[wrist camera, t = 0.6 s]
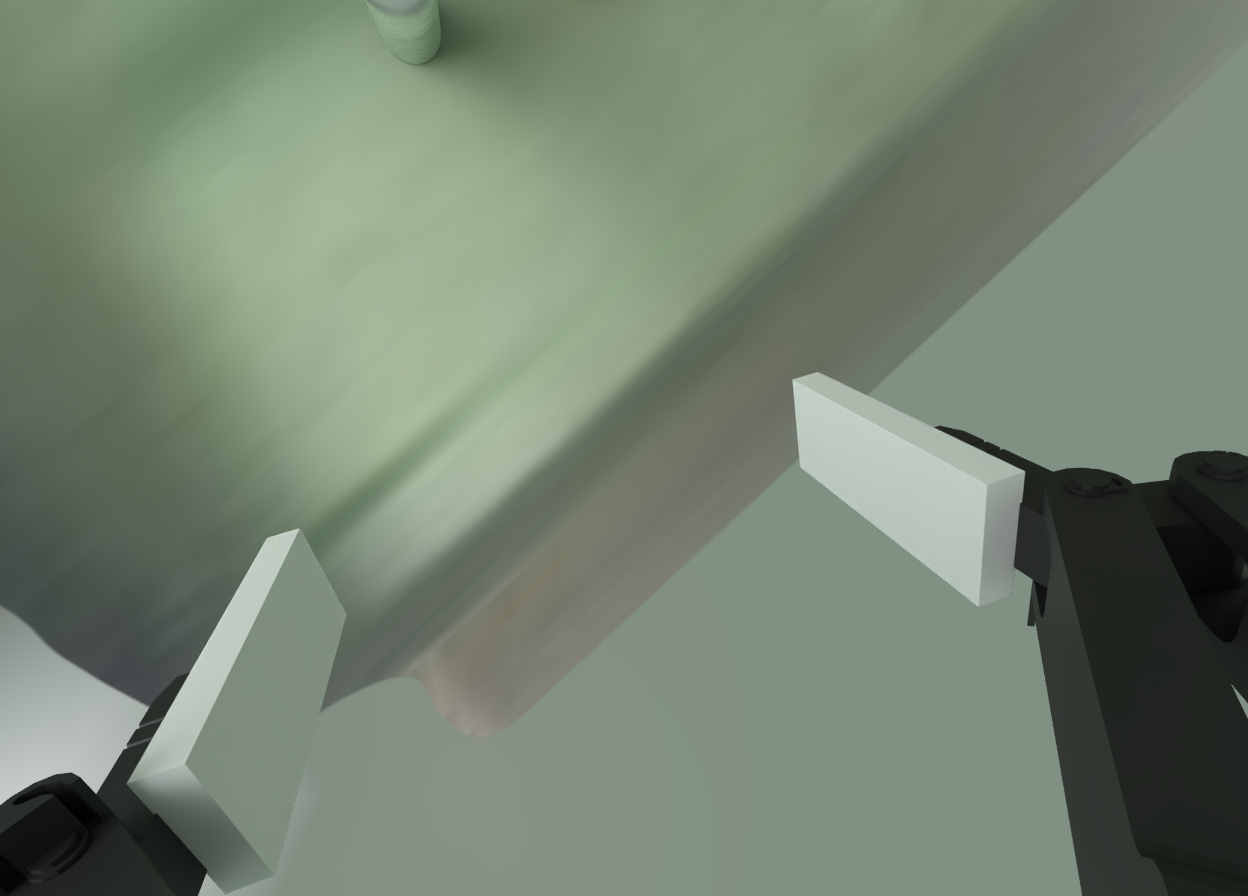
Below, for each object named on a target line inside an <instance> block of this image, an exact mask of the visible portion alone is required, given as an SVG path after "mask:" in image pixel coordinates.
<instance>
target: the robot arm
mask: <svg viewBox="0 0 1248 896" xmlns="http://www.w3.org/2000/svg"><path fill="white" fill-rule="evenodd" d="M793 391H794V402H795V413H796V425H797V436H798V448H799V459H800V467H801V468H802V469H804V470H805V471H806V472H807V473H809V474H810V475H811V476H812V477H814V478H815V479H816V480H818V481H819V482H820V483H822V484H823V485H824V486H825V487H826V488H828V489H829V490H830V491H831V492H833V493H834V494H836V495H837V496H838V497H839V498H840V499H842V500H843V501H844V502H846V503H847V504H848V505H849V506H851V507H852V508H853V509H854V510H856V511H857V512H858V513H860V514H861V515H862V516H863V517H865V518H866V519H867V520H869V521H870V522H871V523H872V524H874V525H875V526H876V527H877V528H879V529H880V530H881V531H883V532H884V533H885V534H886V535H888V536H889V537H890V538H891V539H893V540H894V541H895V542H897V543H898V544H899V545H900V546H902V547H903V548H904V549H906V550H907V551H908V552H909V553H911V554H912V555H913V556H914V557H916V558H917V559H918V560H919V561H921V562H922V563H923V564H925V565H926V566H927V567H928V568H930V569H931V570H932V571H934V572H935V573H936V574H937V575H939V576H940V577H941V578H942V579H944V580H945V581H946V582H948V583H949V584H950V585H951V586H953V587H954V588H955V589H956V590H958V591H959V592H960V593H962V594H963V595H964V596H965V597H967V598H968V599H969V600H971V601H972V602H973V603H974V604H976V605H977V606H978V607H980V606H982V605H985V604H988V603H990V602H993V601H996V600H998V599H1001V598H1003V597H1006V596H1009V595H1011V594H1013V585H1014V576H1015V568H1016V569H1018V570H1019V571H1021V572H1022V573H1024V574H1025V575H1027V576H1028V577H1030V578H1031V579H1033V582H1032V590H1031V598H1030V607H1029V615H1028V624H1027V625H1028V626H1034V625H1035V622H1036V628H1037V633H1038V640H1039V645H1040V651H1041V656H1042V663H1043V669H1044V675H1045V681H1046V686H1047V692H1048V698H1049V703H1050V710H1051V716H1052V721H1053V727H1054V733H1055V739H1056V745H1057V750H1058V756H1059V762H1060V768H1061V774H1062V780H1063V785H1064V791H1065V798H1066V803H1067V809H1068V815H1069V821H1070V826H1071V833H1072V838H1073V844H1074V850H1075V856H1076V861H1077V867H1078V874H1079V879H1080V885H1081V891H1082V896H1248V718H1247V716H1246V714H1245V712H1244V710H1243V708H1242V706H1241V704H1240V702H1239V700H1238V698H1237V696H1236V694H1235V691H1234V689H1233V687H1232V685H1233V686H1234V687H1235V689H1236V690H1237V691H1238V692H1239V693H1240V694H1241V696H1242V697H1243V698H1244V699H1245V700H1246V702H1247V703H1248V457H1247V456H1244V455H1241V454H1239V453H1234V452H1228V453H1227V452H1226V451H1198V452H1192V453H1186V454H1183V455H1181V456H1179V457H1177V458H1175V460H1174V462H1173V465H1172V469H1171V473H1170V478H1169V480H1164V481H1157V482H1147V483H1139V484H1132V483H1131V482H1130V480H1127V479H1125V478H1123V477H1121V476H1119V475H1117V474H1115V473H1111V472H1107V471H1103V470H1099V469H1090V468H1069V469H1068V468H1066V469H1063V470H1059V471H1055V472H1053V471H1050V470H1048V469H1046V468H1044V467H1042V466H1039V465H1037V464H1035V463H1033V462H1031V461H1028V460H1026V459H1024V458H1022V457H1020V456H1018V455H1015V454H1013V453H1011V452H1009V451H1007V450H1004V449H1002V450H1000V447H998V446H996V445H994V444H991V443H989V442H984V440H982V439H980V438H978V437H976V436H974V435H972V434H970V433H967V432H965V431H962V430H956V429H952V428H948V427H943V426H937V427H934V428H933V427H931V426H929V425H927V424H925V423H923V422H921V421H919V420H917V419H914V418H912V417H911V416H908V415H906V414H904V413H902V412H900V411H898V410H896V409H894V408H892V407H890V406H888V405H885V404H883V403H881V402H879V401H877V400H875V399H873V398H871V397H869V396H867V395H865V394H863V393H861V392H858V391H856V390H854V389H852V388H850V387H848V386H846V385H844V384H842V383H840V382H838V381H836V380H833V379H831V378H829V377H827V376H825V375H823V374H821V373H819V372H816V373H813V374H809V375H806V376H803V377H799V378H796V379H793ZM345 618H346V613H345V611H344V609H343V607H342V605H341V604H340V602H339V600H338V598H337V596H336V594H335V592H334V591H333V589H332V587H331V585H330V583H329V581H328V579H327V578H326V576H325V574H324V572H323V570H322V568H321V566H320V564H319V563H318V561H317V559H316V557H315V555H314V553H313V551H312V550H311V548H310V546H309V544H308V542H307V540H306V538H305V537H304V535H303V533H302V531H301V529H300V528H299V529H295V530H292V531H289V532H285V533H282V534H279V535H275V536H272V537H269V538H267V539H266V541H265V543H264V544H263V546H262V548H261V550H260V551H259V553H258V555H257V557H256V558H255V560H254V562H253V564H252V565H251V567H250V569H249V571H248V572H247V574H246V576H245V578H244V579H243V581H242V583H241V585H240V586H239V588H238V590H237V592H236V593H235V595H234V597H233V599H232V600H231V602H230V604H229V606H228V607H227V609H226V611H225V613H224V614H223V616H222V618H221V620H220V621H219V623H218V625H217V627H216V628H215V630H214V632H213V634H212V635H211V637H210V639H209V641H208V642H207V644H206V646H205V648H204V649H203V651H202V653H201V655H200V656H199V658H198V660H197V662H196V663H195V665H194V667H193V669H192V670H191V672H190V673H187V674H184V675H181V676H178V677H177V678H176V679H175V680H174V681H173V682H172V683H171V684H170V685H169V686H168V687H167V688H166V689H165V690H164V691H163V692H162V693H161V694H160V695H159V696H158V697H157V698H156V699H155V700H154V701H153V703H152V704H151V706H150V707H149V709H148V711H147V712H146V714H145V716H144V717H143V719H142V721H141V722H140V724H139V726H140V728H139V729H136V730H135V732H134V734H133V735H132V737H131V738H130V740H129V742H128V743H127V749H124V750H123V751H122V753H121V755H120V756H119V758H118V760H117V761H116V763H115V765H114V766H113V768H112V770H111V771H110V773H109V774H108V776H107V778H106V779H105V781H104V782H103V784H102V786H101V787H100V789H99V791H98V792H97V794H95V792H94V791H92V789H91V788H90V787H89V786H88V785H87V784H86V783H85V782H84V781H83V780H82V779H81V778H80V777H79V776H77V775H75V774H73V773H64V774H56V775H53V776H51V777H48V778H46V779H43V780H41V781H38V782H36V783H34V784H32V785H30V786H29V787H27V788H25V789H24V790H22V791H20V792H19V793H17V794H15V795H14V796H12V797H10V798H9V799H8V800H6V801H5V802H4V803H3V804H1V805H0V896H198V894H199V891H200V889H201V886H202V883H203V881H204V878H205V875H206V873H207V874H208V875H209V877H210V878H211V879H212V880H213V881H214V882H215V883H216V884H217V886H219V888H220V889H221V890H222V891H223V892H224V893H225V894H227V893H230V892H232V891H235V890H238V889H240V888H243V887H246V886H248V885H251V884H253V883H256V882H259V881H261V880H264V879H266V878H269V877H272V876H274V875H275V874H276V870H277V866H278V863H279V859H280V855H281V852H282V848H283V844H284V841H285V837H286V833H287V830H288V826H289V823H290V818H291V815H292V812H293V808H294V804H295V801H296V797H297V793H298V790H299V786H300V782H301V779H302V775H303V772H304V768H305V764H306V761H307V757H308V753H309V750H310V746H311V742H312V739H313V735H314V731H315V728H316V724H317V720H318V717H319V713H320V710H321V706H322V702H323V699H324V695H325V691H326V688H327V684H328V680H329V677H330V673H331V669H332V666H333V662H334V659H335V655H336V651H337V648H338V644H339V640H340V637H341V633H342V629H343V626H344V622H345ZM1231 684H1232V685H1231Z"/></svg>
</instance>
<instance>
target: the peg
mask: <svg viewBox="0 0 1248 896" xmlns="http://www.w3.org/2000/svg"><path fill="white" fill-rule="evenodd" d="M364 2H365V4H366V6H367V8H368V10H369V12H370V14H371V16H372V18H373V20H374V22H375V25H376V27H377V29H378V31H379V33H380V35H381V37H382V39H383V41H384V43H385V45H386V46H387V48H388V49H389V51H390V52H391V53H392V54H393V55H394V56H396V57H397V58H398V59H400V60H402V61H404V62H406V63H409V64H423V63H425V62H428V61H429V60H431V59H432V58H433V57H434V56H435V55H436V53H437V52H438V49H439V47H440V43H441V27H440V19H439V11H438V4H437V0H364Z"/></svg>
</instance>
